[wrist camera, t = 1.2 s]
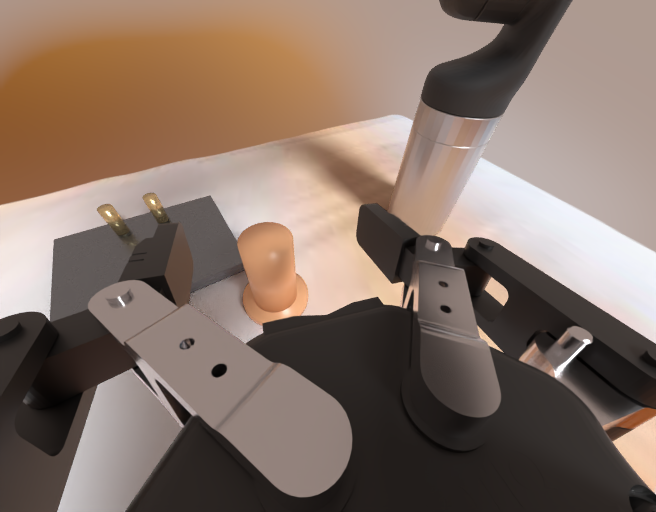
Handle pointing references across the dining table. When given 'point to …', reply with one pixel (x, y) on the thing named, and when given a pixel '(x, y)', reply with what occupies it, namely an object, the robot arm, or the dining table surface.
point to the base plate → (119, 242)
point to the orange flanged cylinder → (271, 273)
